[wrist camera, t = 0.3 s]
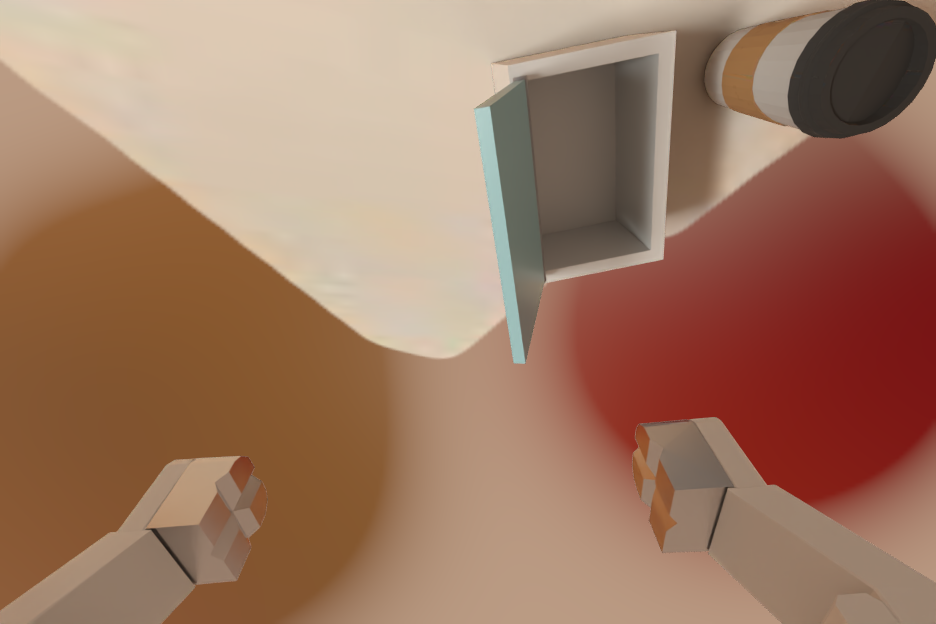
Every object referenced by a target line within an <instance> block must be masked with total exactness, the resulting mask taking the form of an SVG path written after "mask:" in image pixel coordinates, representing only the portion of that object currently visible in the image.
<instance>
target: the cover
mask: <svg viewBox="0 0 936 624" xmlns="http://www.w3.org/2000/svg"><path fill="white" fill-rule="evenodd" d="M474 112H475V118H476V125H477V131H478V138H479V144H480V150H481V157H482V163H483V170H484V176H485V182H486V189H487V195H488V202H489V208H490V214H491V221H492V227H493V234H494V240H495V246H496V253H497V259H498V266H499V272H500V278H501V285H502V291H503V298H504V304H505V310H506V317H507V323H508V329H509V336H510V342H511V349H512V355H513V361H514V363H526V359H527V355H528V350H529V346H530V341H531V337H532V333H533V329H534V324H535V320H536V316H537V311H538V307H539V303H540V299H541V294H542V290H543V286H544V283H545V282H546V271H545V260H544V250H543V239H542V229H541V218H540V208H539V197H538V187H537V177H536V166H535V156H534V145H533V135H532V124H531V114H530V103H529V93H528V83H527V75H524V76H518V77H514V78H513V82H512V83H511V84H509V85H508V86H506V87H505V88H504V89H502V90H501V91H499V92H498V93H496V94H495V95H493V96H492V97H490V98H489V99H488V100H486V101H485V102H483V103H482V104H480V105H479V106H477V107H476V108H475V109H474Z"/></svg>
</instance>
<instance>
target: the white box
mask: <svg viewBox="0 0 936 624" xmlns="http://www.w3.org/2000/svg"><path fill="white" fill-rule="evenodd" d="M675 48H676V31H666V32H656V33H646V34H636V35H626V36H621V37H616V38H612V39H607V40H602V41H597V42H592V43H588V44H583V45H578V46H573V47H568V48H563V49H559V50H554V51H549V52H544V53H539V54H535V55H530V56H525V57H520V58H515V59H511V60H506V61H501V62H496V63H491V68H492V75H493V83H494V90H495V94H496V93H498V92H499V91H501V90H502V89H504V88H505V87H506V86H508V85H509V84H511V83H512V82H513V78H514V77H518V76H524V75H527V83H528V93H529V103H530V114H531V124H532V135H533V145H534V156H535V166H536V177H537V187H538V197H539V208H540V218H541V229H542V239H543V250H544V260H545V271H546V282H545V283H548V282H553V281H558V280H563V279H568V278H573V277H577V276H583V275H588V274H592V273H598V272H603V271H608V270H613V269H618V268H623V267H628V266H632V265H638V264H643V263H648V262H653V261H658V260H663V255H664V238H665V221H666V203H667V186H668V169H669V152H670V134H671V117H672V100H673V82H674V65H675Z"/></svg>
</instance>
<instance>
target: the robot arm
mask: <svg viewBox="0 0 936 624" xmlns="http://www.w3.org/2000/svg"><path fill="white" fill-rule="evenodd" d="M635 439H636V441H637V443H638V445H639V448H638V449H637V450H636V451H635V452H634V453H633V460H632V468H633V477H634V481H635V485H636V488H637V491H638V494H639V496H640V499H641V500H642V501H643V502H644V503H645V504H647V505H648V506H649V507H650V508H651V510H650V516H649V522H650V524H651V527H652V529H653V532H654V534H655V537H656V539H657V542H658V544H659V547H660V549H661V551H662V553H673V552H701V551H709V552H708V554H709V555H710V556H711V557H712V558H713V559H714V560H715V561H716V562H718V564H720V565H721V566H722V567H723V568H724V569H725V570H726V571H727V572H728V573H729V574H730V575H731V576H732V577H733V578H734V579H735V580H736V581H738V582H739V583H740V584H741V585H742V586H743V587H744V588H745V589H746V590H747V591H748V592H749V593H750V594H751V595H752V596H754V597H755V598H756V599H757V600H758V601H759V602H760V603H761V604H762V605H763V606H764V607H765V608H766V609H767V610H768V611H769V612H770V613H771V614H772V615H774V616H775V617H776V618H777V619H778V620H779V621H780V622H781V623H782V624H936V583H935V582H934V581H932V580H930V579H929V578H927V577H925V576H924V575H922V574H921V573H919V572H917V571H916V570H914V569H912V568H910V567H909V566H907V565H906V564H904V563H903V562H901V561H899V560H898V559H896V558H894V557H893V556H891V555H889V554H888V553H886V552H884V551H883V550H881V549H879V548H878V547H876V546H875V545H873V544H871V543H870V542H868V541H866V540H865V539H863V538H862V537H860V536H858V535H856V534H855V533H853V532H852V531H850V530H848V529H847V528H845V527H844V526H842V525H840V524H839V523H837V522H835V521H834V520H832V519H830V518H829V517H827V516H825V515H824V514H822V513H821V512H819V511H817V510H816V509H814V508H812V507H811V506H809V505H807V504H806V503H804V502H803V501H801V500H799V499H798V498H796V497H794V496H793V495H791V494H789V493H788V492H786V491H785V490H783V489H781V488H780V487H778V486H776V485H766V483H765V482H764V480H763V479H762V478H761V476H760V475H759V473H758V472H757V471H756V469H755V468H754V466H753V465H752V463H751V462H750V461H749V459H748V458H747V457H746V455H745V454H744V452H743V451H742V449H741V448H740V447H739V445H738V444H737V442H736V441H735V440H734V438H733V437H732V436H731V434H730V433H729V431H728V430H727V428H726V427H725V426H724V424H723V423H722V421H721V420H719V419H718V418H716V417H712V418H701V419H690V420H677V421H665V422H654V423H643V424H639V425H638V426H637V428H636V435H635ZM254 468H255V467H254V465H253V464H252V462H251V460H250V459H249V457H246V456H234V457H233V456H232V457H214V458H197V459H185V460H174V461H173V462H171V463H169V464H167V465H166V466H165V468H164V469H163V470H162V472H161V473H160V474H159V476H158V477H157V478H156V480H155V481H154V482H153V484H152V485H151V487H150V488H149V489H148V491H147V492H146V493H145V495H144V496H143V497H142V499H141V500H140V502H139V503H138V504H137V506H136V507H135V508H134V510H133V511H132V512H131V514H130V515H129V517H128V518H127V519H126V521H125V522H124V524H123V525H122V526H121V527H120V529H119V530H118V531H117V532H112V533H108V534H107V535H106V536H104V537H103V538H102V539H100V540H99V541H97V542H96V543H94V544H93V545H92V546H90V547H89V548H87V549H86V550H85V551H83V552H82V553H80V554H79V555H78V556H76V557H75V558H73V559H72V560H71V561H69V562H68V563H66V564H65V565H64V566H62V567H61V568H59V569H58V570H57V571H55V572H54V573H52V574H51V575H50V576H48V577H47V578H45V579H44V580H43V581H41V582H40V583H38V584H37V585H36V586H35V587H33V588H31V589H30V590H29V591H27V592H26V593H25V594H23V595H22V596H20V597H19V598H18V599H16V600H15V601H13V602H12V603H10V604H9V605H8V606H6V607H5V608H3V609H2V610H1V611H0V624H161V623H162V622H163V621H164V620H165V619H166V618H167V617H168V616H169V615H170V614H171V613H172V612H173V610H174V609H175V608H176V607H177V606H178V605H179V604H180V603H181V602H182V601H183V600H184V599H185V598H186V597H187V595H188V594H189V593H190V592H191V591H192V590H193V589H194V588H195V585H196V584H207V583H217V582H227V581H236V580H237V579H238V577H239V574H240V572H241V570H242V568H243V565H244V563H245V561H246V558H247V556H248V554H249V552H250V549H251V545H250V542H249V537H250V536H251V535H252V534H253V533H254V532H255V531H256V530H258V529H259V528H260V526H261V524H262V521H263V519H264V517H265V514H266V507H267V493H266V489H265V487H264V484H263V482H262V481H261V480H259V479H257V478H256V477H254V476H252V475H251V474H252V472H253V470H254Z"/></svg>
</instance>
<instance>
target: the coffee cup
mask: <svg viewBox="0 0 936 624" xmlns="http://www.w3.org/2000/svg"><path fill="white" fill-rule="evenodd" d="M935 59H936V25H935V23H934V21H933V20H932V18H931V17H930V16H929V14H928V13H926V12H925V11H923V10H921V9H919V8H917V7H914V6H912V5H910V4H909V3H907V2H905V1H899V0H867V1H863V2H858V3H855V4H853V5H851V6H850V7H848V8H844V9H839V10H834V11H822V12H817V13H812V14H807V15H803V16H798V17H793V18H788V19H783V20H778V21H774V22H769V23H764V24H760V25H758V26H755V27H750V28H745V29H741V30H738V31H736V32H734V33H732V34H730V35H729V36H728V37H726V38H725V39H724V40H723V41H722V42H721V43H720V44H719V45H718V46H717V48H716V49H715V50H714V51H713V53H712V54H711V56H710V58H709V60H708V62H707V66H706V69H705V77H704V81H705V87H706V91H707V93H708V95H709V97H710V98H711V99H712V100H713V101H714V102H715V103H716V104H719V105H721V106H724V107H727V108H730V109H732V110H734V111H737V112H740V113H743V114H746V115H750V116H753V117H756V118H759V119H763V120H766V121H769V122H772V123H776V124H779V125H782V126H790V127H793V128H797V129H800V130H801V131H802V132H803V133H806V134H808V135H810V136H813V137H821V138H822V137H823V138H845V137H850V136H854V135H858V134H862V133H867V132H870V131H873V130H875V129H877V128H879V127H881V126H883V125H885V124H887V123H888V122H889V121H891V120H892V119H894V118H895V117H896V116H898V115H899V114H900V113H901V112H902V111H903V110H904V109H905V108H906V107H907V106H908V105H909V104H910V103H911V102H912V101H913V100H914V99H915V97H916V96H917V94H918V93H919V92H920V90H921V89H922V88H923V86H924V84H925V83H926V80H927V79H928V77H929V75H930V73H931V71H932V68H933V65H934V62H935Z"/></svg>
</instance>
